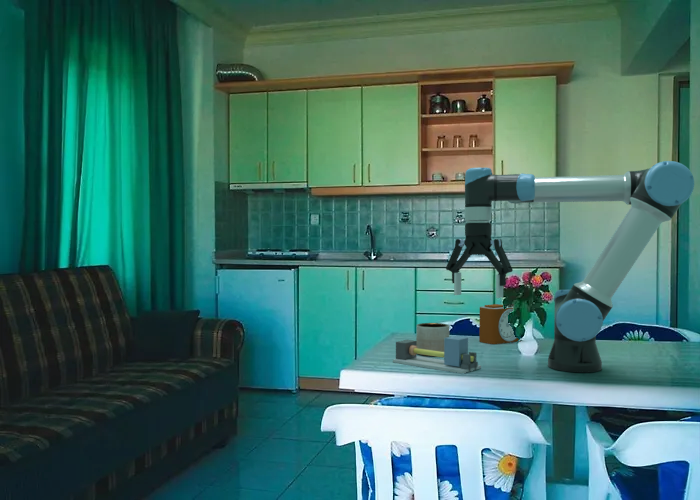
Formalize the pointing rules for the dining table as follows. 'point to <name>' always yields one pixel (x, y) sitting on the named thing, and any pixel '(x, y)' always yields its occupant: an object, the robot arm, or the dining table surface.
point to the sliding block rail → (408, 352)
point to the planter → (431, 336)
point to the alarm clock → (495, 325)
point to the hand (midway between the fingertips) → (478, 296)
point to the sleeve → (455, 350)
